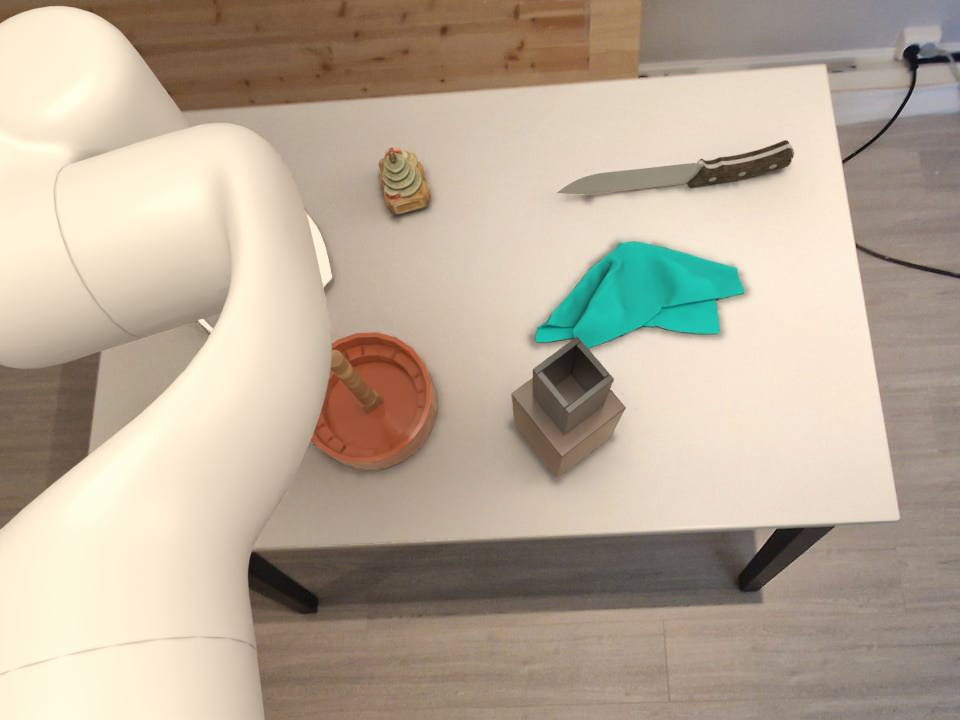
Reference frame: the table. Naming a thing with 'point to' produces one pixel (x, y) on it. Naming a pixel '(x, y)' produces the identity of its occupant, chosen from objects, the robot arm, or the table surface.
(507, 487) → the table surface
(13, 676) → the robot arm
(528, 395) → the utensil stand
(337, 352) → the stick
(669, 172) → the knife
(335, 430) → the bowl
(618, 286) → the cloth
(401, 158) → the ornament
